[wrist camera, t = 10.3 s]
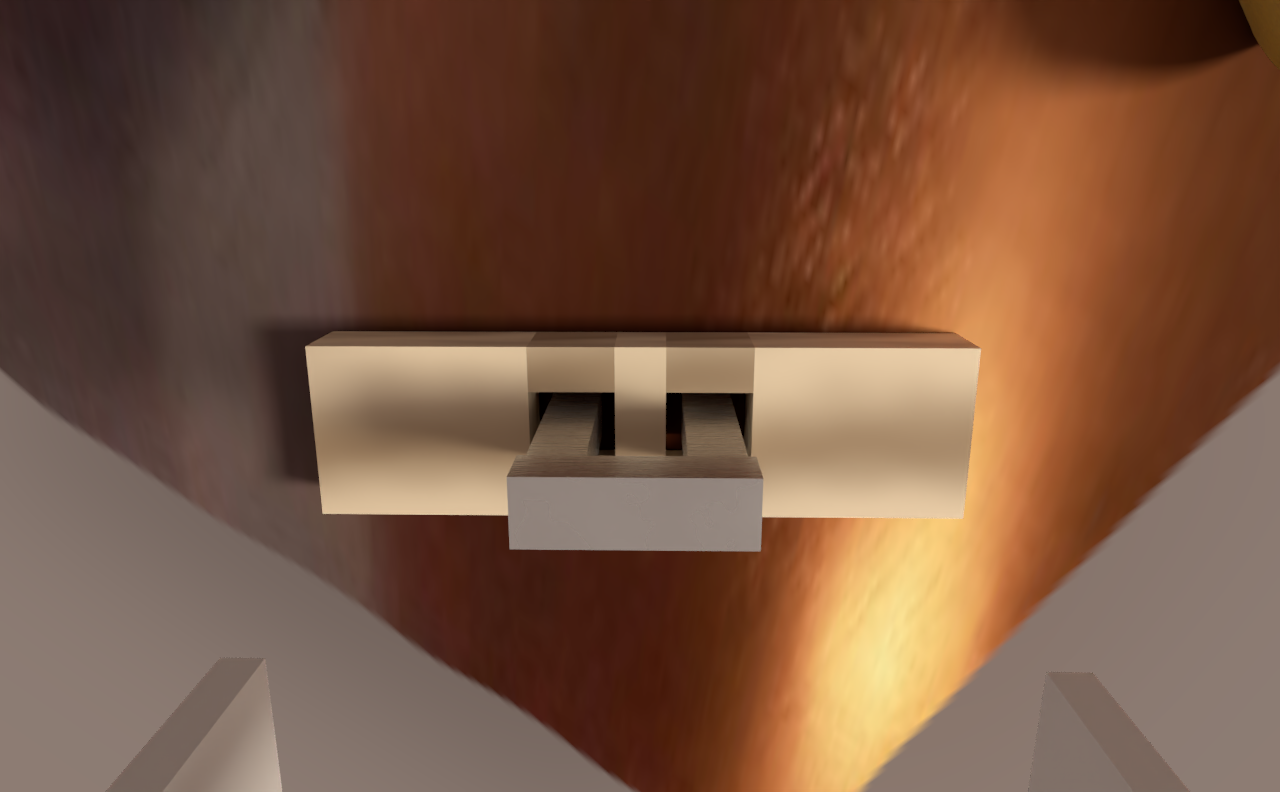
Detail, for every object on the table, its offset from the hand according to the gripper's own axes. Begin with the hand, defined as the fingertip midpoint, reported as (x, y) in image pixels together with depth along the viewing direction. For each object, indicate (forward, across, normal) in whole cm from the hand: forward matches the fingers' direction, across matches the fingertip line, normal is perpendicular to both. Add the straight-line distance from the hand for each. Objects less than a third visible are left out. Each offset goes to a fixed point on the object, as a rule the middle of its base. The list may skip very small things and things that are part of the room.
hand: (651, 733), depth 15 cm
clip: (+23, -1, -2) cm, 23 cm away
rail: (+23, -1, -2) cm, 23 cm away
